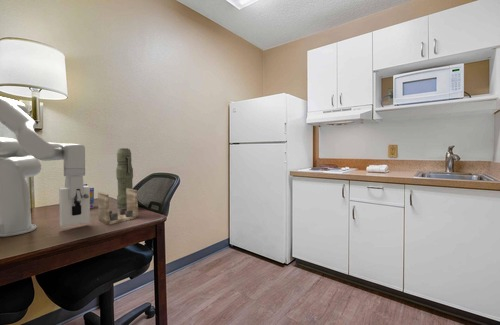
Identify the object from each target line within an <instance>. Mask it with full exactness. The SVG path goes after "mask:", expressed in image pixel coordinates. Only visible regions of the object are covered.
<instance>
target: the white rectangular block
mask: <svg viewBox="0 0 500 325" xmlns="http://www.w3.org/2000/svg"><path fill="white" fill-rule="evenodd" d="M90 187H91V186H88V185H87V186H85V185H84V196H83V198H82V199H81V214H80V215H74V216H73V215H72V206H73V200H70V199H68V189H67V188H65V187H59V189H58V190H59V192H58V195H59V196H58V197H59V198H58V199H59V200H58V201H59V207H58V208H59V226H60V227H61V228H65V227H71V226H76V225H82V224H86V223H90V222H91V210H90V209H91V208H90ZM81 196H82V195H81ZM74 199H77V197H74ZM75 201H77V200H75Z"/></svg>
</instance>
